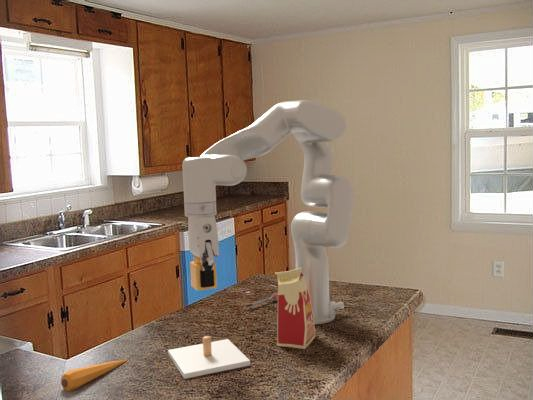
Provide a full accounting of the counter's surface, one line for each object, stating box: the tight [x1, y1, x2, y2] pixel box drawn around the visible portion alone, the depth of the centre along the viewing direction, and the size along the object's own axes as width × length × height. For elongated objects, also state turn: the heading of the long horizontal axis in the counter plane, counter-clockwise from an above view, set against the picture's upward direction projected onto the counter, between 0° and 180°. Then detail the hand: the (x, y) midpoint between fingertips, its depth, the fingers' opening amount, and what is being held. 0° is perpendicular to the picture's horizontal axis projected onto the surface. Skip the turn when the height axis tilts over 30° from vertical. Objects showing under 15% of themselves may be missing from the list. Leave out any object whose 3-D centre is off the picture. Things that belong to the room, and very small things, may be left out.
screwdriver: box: [244, 292, 278, 308], centre depth 184 cm, size 25×3×3 cm, turn 135°
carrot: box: [60, 358, 130, 392], centre depth 132 cm, size 20×4×4 cm, turn 150°
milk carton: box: [274, 267, 316, 350], centre depth 147 cm, size 9×9×20 cm
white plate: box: [167, 335, 251, 380], centre depth 138 cm, size 16×16×6 cm
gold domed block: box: [189, 255, 218, 292], centre depth 136 cm, size 5×5×8 cm
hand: (204, 283), depth 136 cm, fingers closed on gold domed block, 4 cm apart
